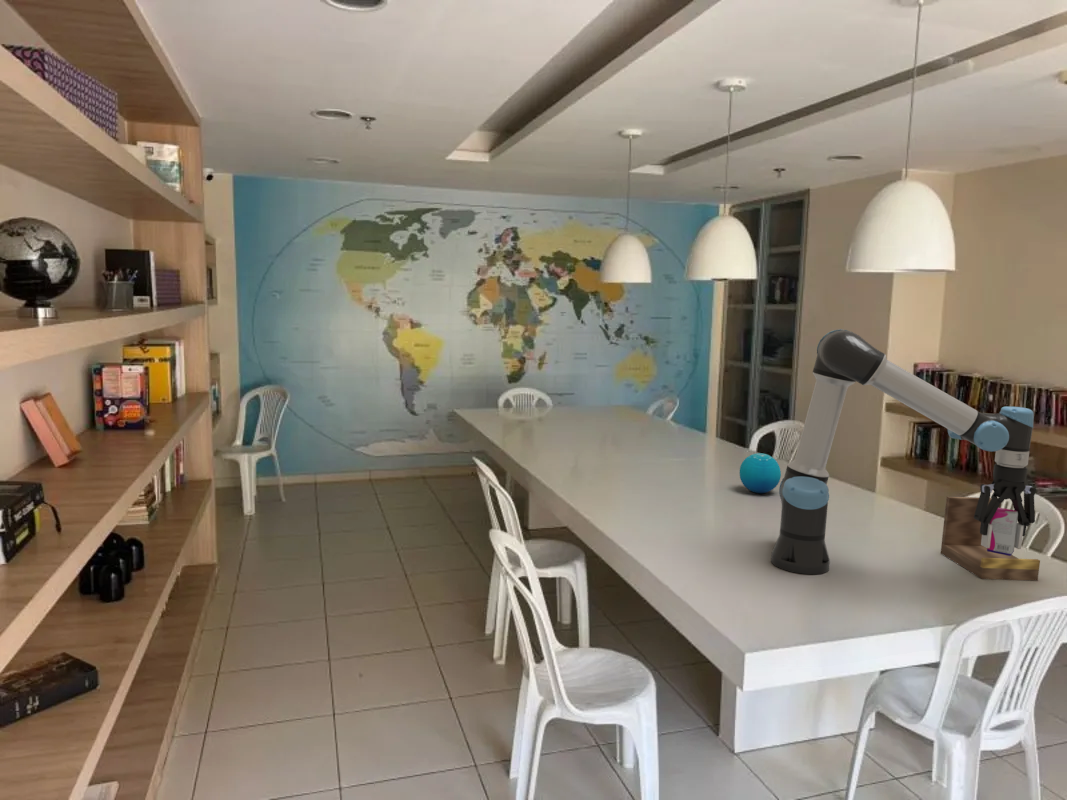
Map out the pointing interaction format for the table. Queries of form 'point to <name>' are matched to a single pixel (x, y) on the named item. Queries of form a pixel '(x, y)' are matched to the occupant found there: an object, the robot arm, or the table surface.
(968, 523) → the display shelf
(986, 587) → the table surface
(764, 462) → the decorative orb
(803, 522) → the robot arm
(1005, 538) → the supplement box
